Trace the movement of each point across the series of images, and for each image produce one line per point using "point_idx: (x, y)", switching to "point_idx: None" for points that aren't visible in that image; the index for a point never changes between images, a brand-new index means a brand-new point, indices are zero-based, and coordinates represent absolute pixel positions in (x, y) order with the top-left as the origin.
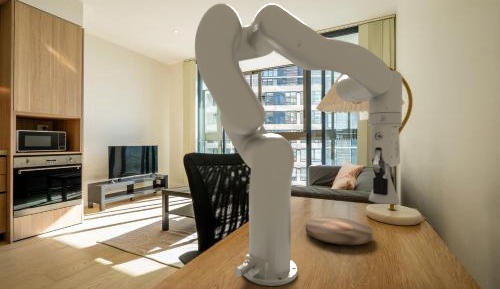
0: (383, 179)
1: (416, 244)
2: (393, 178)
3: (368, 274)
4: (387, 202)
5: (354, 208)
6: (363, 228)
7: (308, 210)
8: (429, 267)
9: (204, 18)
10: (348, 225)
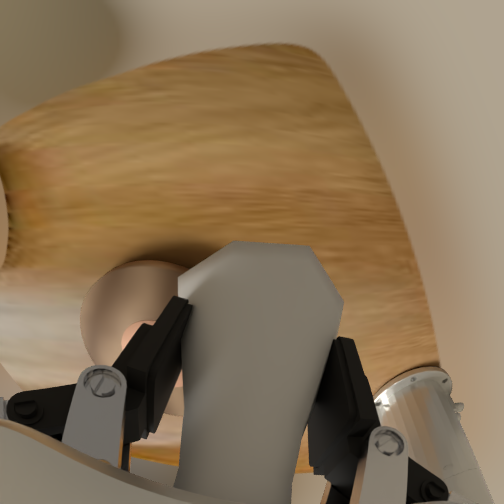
0: (368, 432)
1: (106, 141)
2: (150, 360)
3: (375, 259)
4: (341, 308)
5: None
6: (131, 292)
7: None
8: (263, 115)
9: None
10: (134, 331)
